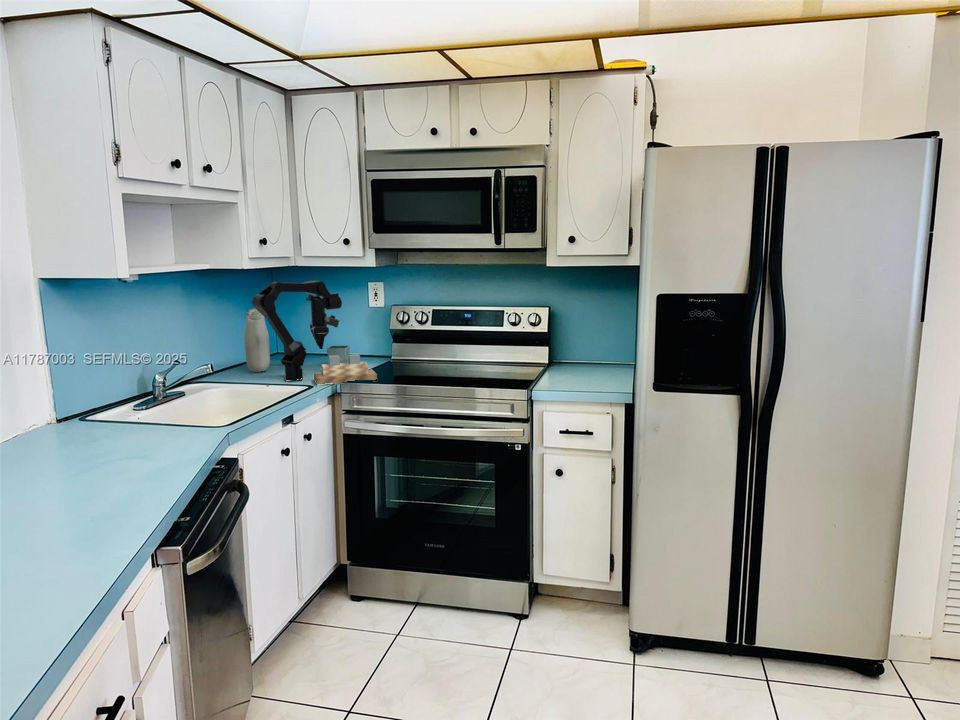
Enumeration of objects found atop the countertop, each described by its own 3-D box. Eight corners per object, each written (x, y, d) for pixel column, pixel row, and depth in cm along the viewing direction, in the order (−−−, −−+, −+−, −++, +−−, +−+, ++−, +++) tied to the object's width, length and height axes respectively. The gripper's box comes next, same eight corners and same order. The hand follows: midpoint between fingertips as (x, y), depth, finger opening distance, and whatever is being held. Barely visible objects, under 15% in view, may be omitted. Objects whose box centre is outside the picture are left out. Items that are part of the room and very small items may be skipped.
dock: (317, 385, 275) (316, 378, 274) (314, 380, 285) (313, 373, 285) (377, 381, 282) (376, 373, 282) (372, 376, 293) (372, 369, 292)
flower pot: (327, 368, 312) (326, 348, 310) (332, 364, 321) (331, 345, 319) (346, 368, 312) (345, 348, 310) (350, 364, 320) (349, 345, 319)
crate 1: (330, 366, 279) (329, 357, 278) (329, 364, 282) (328, 355, 282) (340, 365, 280) (339, 356, 279) (338, 363, 284) (338, 355, 283)
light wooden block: (323, 376, 278) (323, 366, 277) (322, 374, 283) (321, 364, 282) (368, 373, 284) (367, 363, 283) (365, 370, 289) (365, 361, 288)
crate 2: (350, 364, 281) (349, 356, 281) (348, 362, 285) (348, 354, 284) (360, 363, 283) (359, 355, 282) (358, 362, 286) (358, 353, 286)
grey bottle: (243, 371, 306) (239, 308, 301) (266, 368, 312) (262, 306, 307) (251, 375, 298) (246, 310, 293) (274, 372, 304) (270, 308, 299)
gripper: (340, 312, 285) (342, 349, 288) (334, 307, 302) (336, 343, 305) (312, 313, 281) (314, 351, 284) (308, 309, 299) (310, 344, 302)
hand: (320, 347), depth 294 cm, fingers open, 9 cm apart
